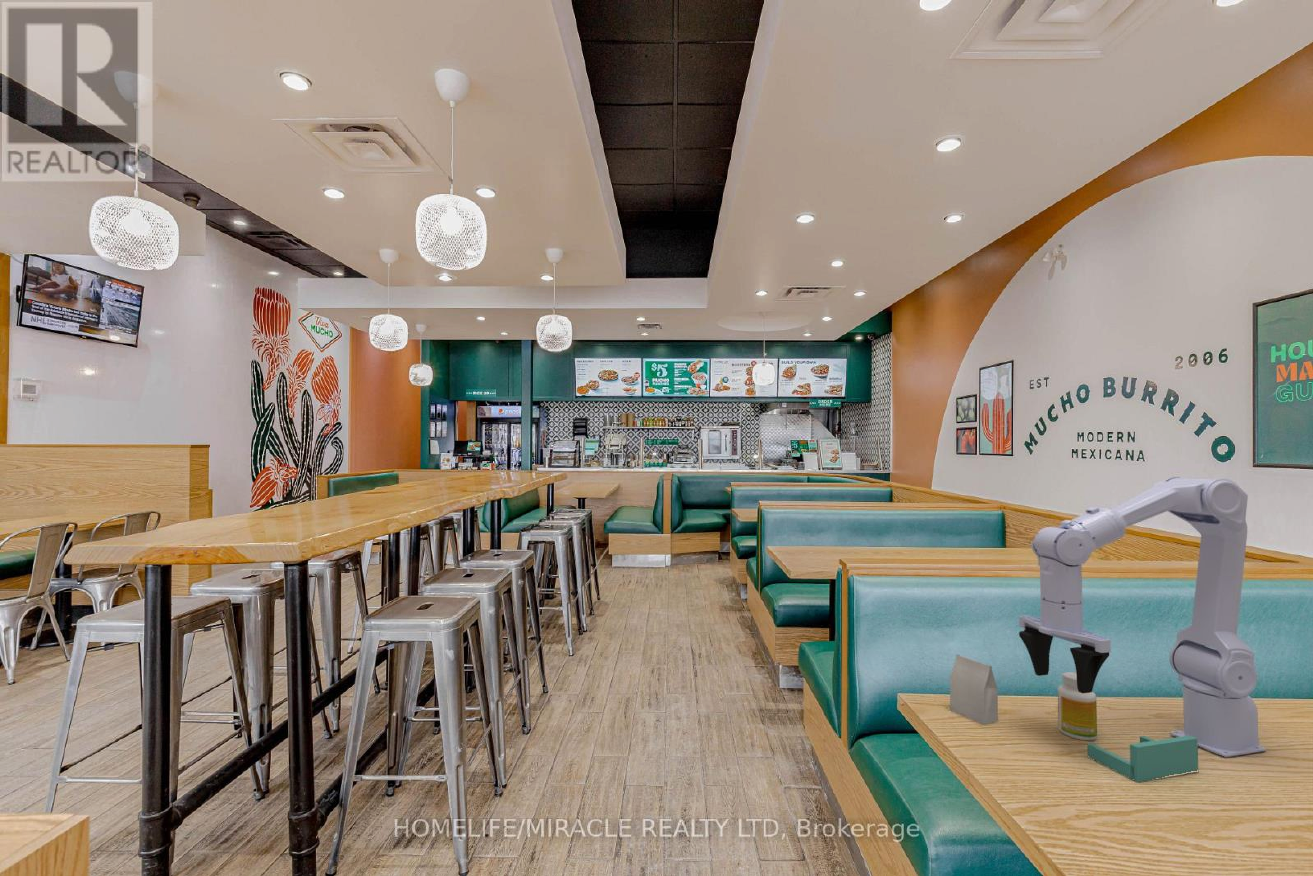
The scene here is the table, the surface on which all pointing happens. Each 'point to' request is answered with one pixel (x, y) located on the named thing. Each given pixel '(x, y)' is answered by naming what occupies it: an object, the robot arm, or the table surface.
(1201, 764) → the table surface
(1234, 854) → the table surface
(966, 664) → the tea bag
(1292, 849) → the table surface
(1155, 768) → the dock
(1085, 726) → the supplement bottle
